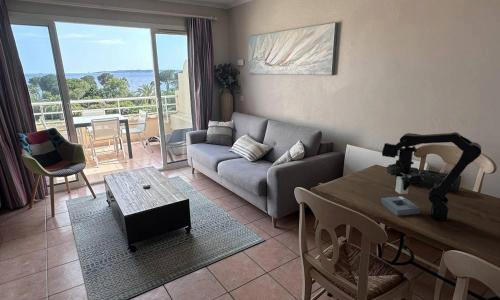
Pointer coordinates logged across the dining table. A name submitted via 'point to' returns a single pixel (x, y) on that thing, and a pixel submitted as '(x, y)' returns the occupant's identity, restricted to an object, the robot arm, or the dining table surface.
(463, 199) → the dining table surface
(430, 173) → the muzzle brake
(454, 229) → the dining table surface
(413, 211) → the socket plate
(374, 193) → the dining table surface
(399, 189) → the block
